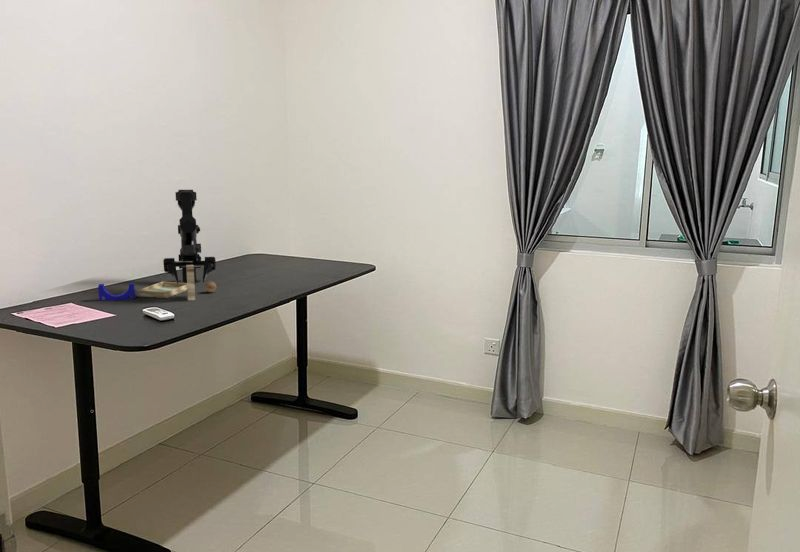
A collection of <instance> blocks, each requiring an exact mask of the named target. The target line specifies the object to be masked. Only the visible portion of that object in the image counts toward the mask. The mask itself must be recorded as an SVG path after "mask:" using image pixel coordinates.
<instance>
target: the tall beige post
mask: <svg viewBox="0 0 800 552" xmlns="http://www.w3.org/2000/svg"><path fill="white" fill-rule="evenodd" d="M186 272H187V291H186V292H187V301H196V289H195V288H196V287H195V285H196V283H194V265H186Z"/></svg>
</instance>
